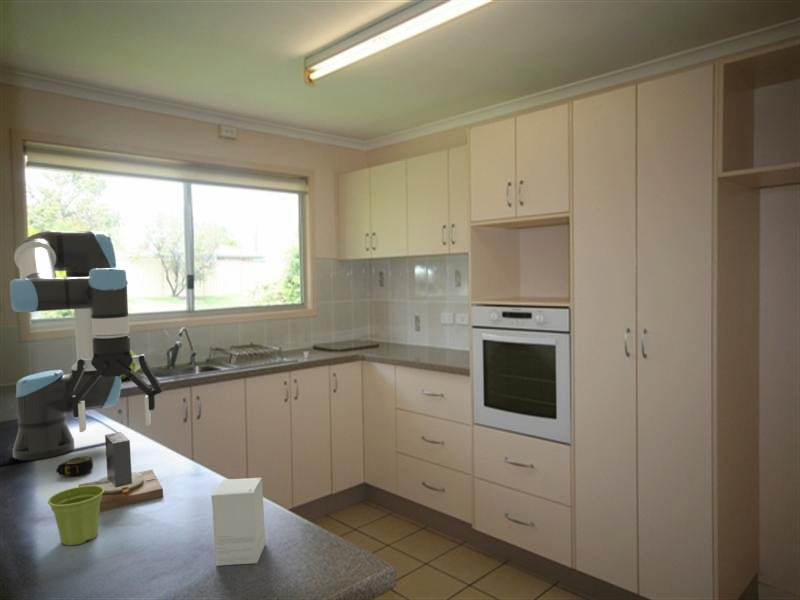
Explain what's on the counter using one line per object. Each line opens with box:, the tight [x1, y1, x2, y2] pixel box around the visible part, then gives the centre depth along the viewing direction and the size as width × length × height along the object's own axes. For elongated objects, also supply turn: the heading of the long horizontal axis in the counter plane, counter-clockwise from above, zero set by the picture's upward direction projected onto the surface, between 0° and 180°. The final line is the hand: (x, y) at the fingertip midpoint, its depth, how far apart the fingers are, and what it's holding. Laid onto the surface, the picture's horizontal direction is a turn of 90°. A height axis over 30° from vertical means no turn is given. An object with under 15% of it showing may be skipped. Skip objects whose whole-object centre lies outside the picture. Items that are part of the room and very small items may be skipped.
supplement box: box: [211, 477, 266, 567], centre depth 97 cm, size 7×7×13 cm
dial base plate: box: [77, 469, 164, 512], centre depth 126 cm, size 15×16×2 cm
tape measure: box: [55, 455, 94, 477], centre depth 141 cm, size 7×7×4 cm
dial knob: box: [95, 431, 144, 494], centre depth 125 cm, size 10×12×11 cm
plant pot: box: [47, 485, 104, 546], centre depth 105 cm, size 9×9×9 cm
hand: (116, 427), depth 126 cm, fingers open, 13 cm apart
